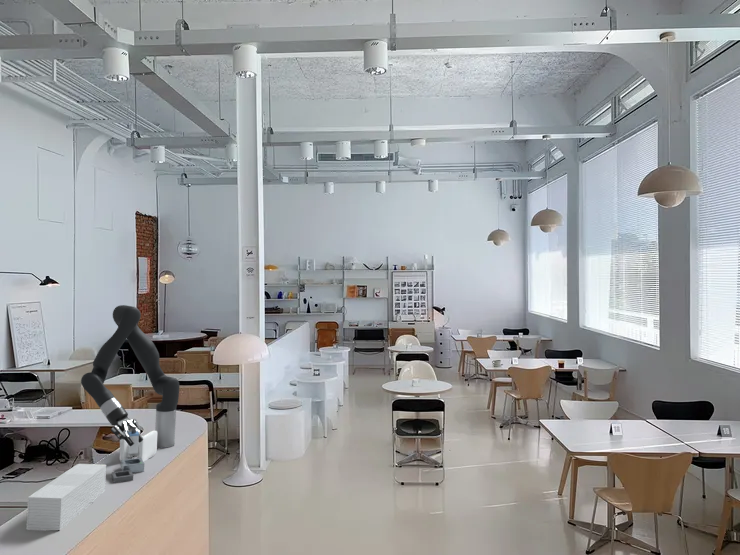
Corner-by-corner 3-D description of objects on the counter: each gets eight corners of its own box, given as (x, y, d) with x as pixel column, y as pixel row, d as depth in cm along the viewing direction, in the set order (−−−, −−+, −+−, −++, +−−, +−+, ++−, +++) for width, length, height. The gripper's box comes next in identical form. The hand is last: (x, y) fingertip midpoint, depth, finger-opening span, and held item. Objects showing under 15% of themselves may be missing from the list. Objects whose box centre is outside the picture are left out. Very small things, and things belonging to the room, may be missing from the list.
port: (120, 469, 234) (121, 459, 234) (140, 466, 238) (141, 456, 238) (123, 475, 227) (123, 465, 227) (144, 472, 232) (144, 462, 232)
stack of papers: (76, 492, 210) (77, 463, 210) (105, 492, 210) (106, 464, 210) (26, 530, 178) (27, 497, 178) (59, 531, 178) (61, 498, 178)
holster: (111, 478, 224) (111, 472, 224) (130, 476, 227) (130, 469, 227) (113, 484, 218) (114, 478, 218) (132, 481, 221) (133, 475, 221)
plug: (127, 451, 233) (128, 426, 233) (136, 450, 235) (138, 425, 235) (128, 453, 230) (129, 428, 230) (138, 452, 232) (139, 427, 232)
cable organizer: (141, 465, 240) (142, 438, 240) (117, 463, 241) (118, 437, 241) (157, 454, 255) (158, 429, 255) (134, 453, 256) (136, 428, 256)
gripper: (107, 409, 228) (131, 442, 225) (130, 402, 242) (153, 433, 239) (96, 421, 229) (119, 453, 226) (119, 413, 243) (142, 443, 240)
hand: (137, 442), depth 232 cm, fingers closed on plug, 5 cm apart
